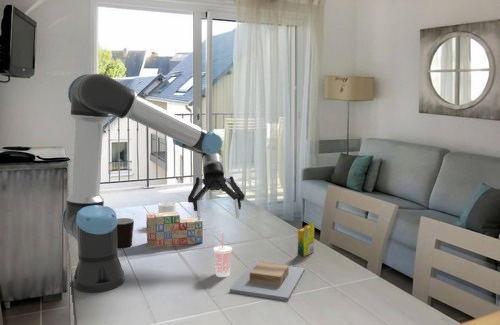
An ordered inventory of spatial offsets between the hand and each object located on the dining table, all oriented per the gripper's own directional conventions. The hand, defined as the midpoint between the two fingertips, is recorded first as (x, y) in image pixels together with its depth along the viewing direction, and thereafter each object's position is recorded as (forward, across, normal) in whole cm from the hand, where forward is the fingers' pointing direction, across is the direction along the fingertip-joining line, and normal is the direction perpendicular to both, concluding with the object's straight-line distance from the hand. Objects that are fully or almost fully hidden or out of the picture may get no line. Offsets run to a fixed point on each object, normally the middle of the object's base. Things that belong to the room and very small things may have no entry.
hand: (218, 217), depth 159 cm
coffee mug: (-7, +33, -30) cm, 45 cm away
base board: (+25, -14, +2) cm, 28 cm away
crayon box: (+9, -33, -14) cm, 38 cm away
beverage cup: (+19, 0, -4) cm, 20 cm away
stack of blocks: (-6, +14, -29) cm, 33 cm away
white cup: (-23, +16, -47) cm, 55 cm away
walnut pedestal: (+25, -14, +2) cm, 28 cm away
